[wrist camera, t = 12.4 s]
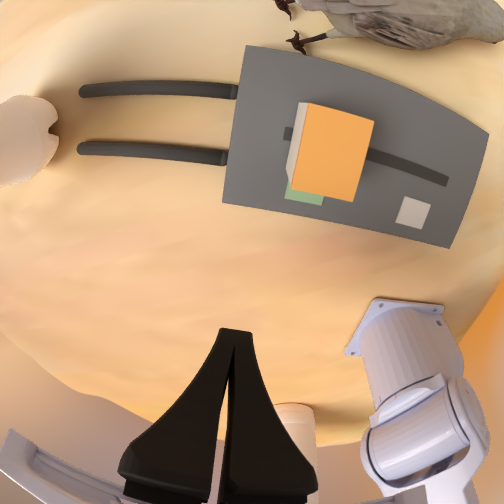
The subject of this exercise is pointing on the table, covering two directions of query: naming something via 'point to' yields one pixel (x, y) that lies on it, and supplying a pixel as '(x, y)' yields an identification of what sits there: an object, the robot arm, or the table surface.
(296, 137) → the handle
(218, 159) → the twin grey rods
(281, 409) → the bottle
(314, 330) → the table surface
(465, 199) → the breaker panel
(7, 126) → the water bottle
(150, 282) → the table surface
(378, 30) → the decorative bird
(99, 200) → the table surface
